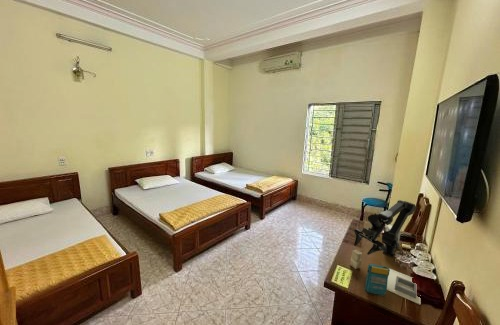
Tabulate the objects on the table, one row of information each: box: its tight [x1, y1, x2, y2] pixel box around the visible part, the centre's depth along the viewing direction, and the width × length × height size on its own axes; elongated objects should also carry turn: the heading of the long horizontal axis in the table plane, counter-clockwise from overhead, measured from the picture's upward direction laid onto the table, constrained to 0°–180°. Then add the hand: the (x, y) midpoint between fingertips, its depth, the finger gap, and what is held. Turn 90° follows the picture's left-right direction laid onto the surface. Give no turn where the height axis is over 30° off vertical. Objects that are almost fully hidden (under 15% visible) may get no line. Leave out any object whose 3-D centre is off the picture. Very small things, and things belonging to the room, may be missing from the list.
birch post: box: [349, 249, 363, 270], centre depth 129 cm, size 4×4×10 cm
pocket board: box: [386, 268, 422, 305], centre depth 116 cm, size 20×15×3 cm
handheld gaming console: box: [364, 263, 391, 297], centre depth 109 cm, size 10×4×15 cm, turn 76°
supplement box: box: [385, 224, 402, 244], centre depth 155 cm, size 7×7×13 cm
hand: (360, 249), depth 129 cm, fingers open, 9 cm apart
